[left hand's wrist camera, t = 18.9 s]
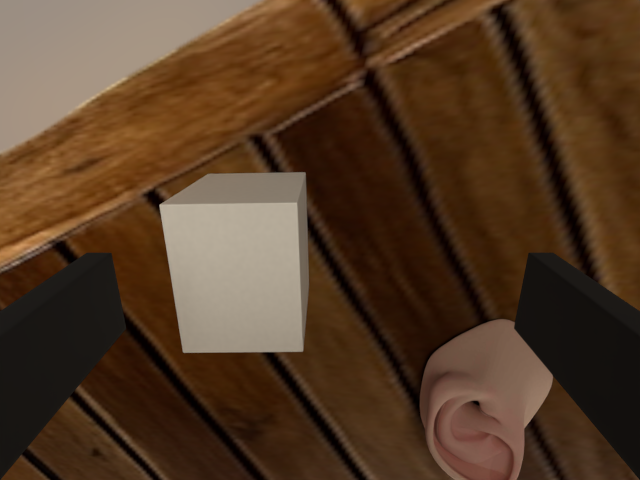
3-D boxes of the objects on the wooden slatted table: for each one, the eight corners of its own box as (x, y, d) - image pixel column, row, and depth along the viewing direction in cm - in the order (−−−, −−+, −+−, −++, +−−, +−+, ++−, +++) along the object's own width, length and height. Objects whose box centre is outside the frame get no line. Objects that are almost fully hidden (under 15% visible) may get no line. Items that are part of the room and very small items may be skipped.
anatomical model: (498, 328, 26) (622, 401, 28) (477, 299, 30) (588, 365, 32) (385, 454, 30) (501, 511, 32) (379, 415, 34) (483, 468, 36)
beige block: (207, 173, 27) (158, 204, 19) (305, 172, 27) (297, 202, 19) (220, 285, 30) (182, 353, 22) (309, 285, 30) (303, 352, 22)
